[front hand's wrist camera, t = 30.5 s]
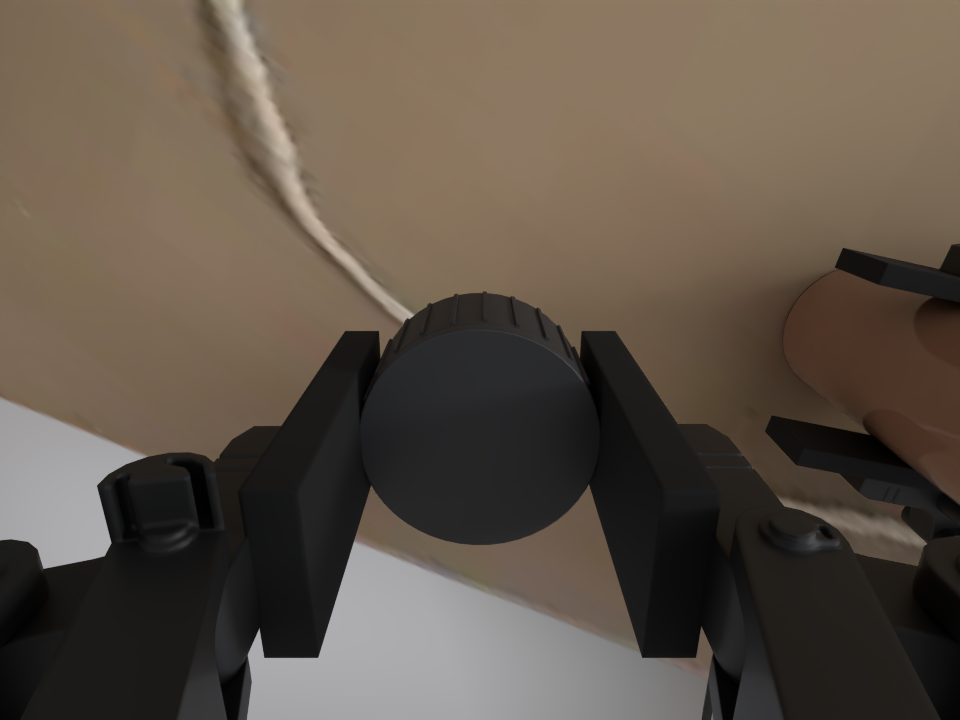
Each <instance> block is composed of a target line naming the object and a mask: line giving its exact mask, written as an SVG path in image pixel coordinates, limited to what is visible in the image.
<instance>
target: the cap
mask: <svg viewBox="0 0 960 720" xmlns="http://www.w3.org/2000/svg"><path fill="white" fill-rule="evenodd" d="M589 384H590V381H589V379H588V377H587V374H586V372H585V370H584V367H583V365H582V363H581V360H580V358H579V356H578V353H577V351H576V349H575V347H571V345H570V343H569V342H568V340H567V338H566V337H565V335H564V333H563V331H562V328H561V327H560V325H558V326H557V325H556V324H554V323H553V322H552V321H551V320H550V319H549V318H548V317H547V316H546V315H544V314H543V313H541V310H540V309H539V308H537V309H536V308H534V307H532V306H530V305H528V304H526V303H524V302H522V301H519V300H516V299H515V297H513V296H511V297H506V296H502V295H498V294H488V293H487V292H483V293H470V294H463V295H458V294H454V296H453V297H450V298H446V299H443V300H441V301H438V302H436V303H434V304H431V303H429V304H428V305H427V307H426V308H425V309H423V310H421V311H419V312H418V313H417V314H416V315H414V316H413V317H412V318H411V319H408V318H407V319H406V320H405V322H404V325H403V327H402V328H401V329H400V330H399V331H398V333H397V334H396V335H395V337H394V338H393V340H392V339H390V340H389V341H388V343H387V346H386V348H385V350H384V353H383V355H382V357H381V359H380V362H379V364H378V366H377V368H376V371H375V373H374V375H373V378H372V380H371V382H370V384H369V387H368V389H367V391H366V394H365V396H364V398H363V402H364V406H363V408H362V412H361V417H360V435H361V448H362V461H363V468H364V470H365V473H366V475H367V477H368V480H369V482H370V483H371V485H372V487H373V489H374V490H375V492H376V493H377V495H378V496H379V497H380V499H381V500H382V501H383V502H384V504H385V505H386V506H387V507H388V508H389V509H390V510H391V511H392V512H393V513H394V514H395V515H397V516H398V517H399V518H401V519H402V520H403V521H404V522H406V523H407V524H409V525H411V526H412V527H414V528H416V529H417V530H419V531H421V532H424V533H426V534H428V535H430V536H433V537H436V538H439V539H442V540H445V541H450V542H455V543H460V544H470V545H491V544H499V543H506V542H510V541H514V540H518V539H521V538H524V537H527V536H529V535H532V534H534V533H536V532H538V531H540V530H542V529H544V528H546V527H548V526H549V525H551V524H552V523H554V522H555V521H557V520H558V519H559V518H560V517H562V516H563V515H564V514H565V513H566V512H568V511H569V510H570V509H571V507H572V506H573V505H574V504H575V503H576V502H577V501H578V500H579V498H580V497H581V495H582V494H583V493H584V491H585V490H586V488H587V486H588V484H589V482H590V481H591V479H592V477H593V474H594V471H595V469H596V466H597V463H598V455H599V442H600V419H599V415H598V411H597V407H596V404H595V402H594V399H593V397H592V394H591V392H590V390H589V387H588V385H589Z"/></svg>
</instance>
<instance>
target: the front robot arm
mask: <svg viewBox="0 0 960 720" xmlns="http://www.w3.org/2000/svg"><path fill="white" fill-rule="evenodd" d="M580 360H581V363H582V365H583V367H584V370H585V372H586V374H587V377H588V379H589V381H590V384H589V385H588V387H589V390H590V392H591V394H592V397H593V399H594V402H595V404H596V407H597V411H598V415H599V419H600V442H599V455H598V463H597V466H596V469H595V471H594V474H593V477H592V479H591V481H590V482H589V486H590V489H591V492H592V495H593V499H594V502H595V505H596V508H597V512H598V515H599V518H600V521H601V525H602V528H603V531H604V534H605V538H606V541H607V544H608V548H609V551H610V554H611V557H612V561H613V564H614V567H615V570H616V574H617V577H618V580H619V583H620V587H621V590H622V593H623V596H624V600H625V603H626V606H627V609H628V613H629V616H630V619H631V622H632V626H633V629H634V632H635V635H636V639H637V642H638V645H639V648H640V652H641V655H642V658H696V655H697V648H698V642H699V636H700V630H701V626H702V628H703V630H704V633H705V635H706V637H707V639H708V641H709V644H710V646H711V648H712V650H713V655H712V661H711V667H710V672H709V678H708V684H707V690H706V695H705V701H704V707H703V714H702V720H711V716H712V712H713V719H714V720H960V538H959V537H944V538H938V539H933V540H932V541H930V542H929V543H928V544H927V545H925V546H924V548H923V552H922V555H921V558H920V561H919V565H918V566H914V565H908V564H903V563H898V562H893V561H888V560H883V559H878V558H873V557H868V556H864V555H860V554H856V553H854V552H853V550H852V548H851V546H850V544H849V542H848V541H847V540H846V539H845V538H844V536H843V535H842V534H841V533H840V532H839V530H838V529H836V528H835V527H833V526H832V525H830V524H829V523H827V522H826V521H824V520H823V519H821V518H819V517H816V516H814V515H811V514H809V513H806V512H804V511H801V510H797V509H793V508H788V507H784V506H783V504H782V503H781V502H780V501H779V499H778V498H777V497H776V496H775V494H774V493H773V492H772V491H771V489H770V488H769V487H768V486H767V484H766V483H765V482H764V481H763V480H762V478H761V477H760V476H759V475H758V473H757V472H756V471H755V470H752V466H751V465H750V463H749V462H748V461H747V460H746V458H745V457H744V456H741V452H740V451H739V450H738V449H737V447H736V446H735V445H734V444H733V442H732V441H731V440H730V439H729V438H728V437H727V436H725V435H724V434H722V433H720V432H719V431H717V430H715V429H714V428H712V427H710V426H709V425H707V424H677V422H676V421H675V419H674V418H673V416H672V415H671V414H670V412H669V411H668V409H667V408H666V406H665V405H664V403H663V402H662V400H661V399H660V397H659V396H658V394H657V393H656V391H655V390H654V388H653V387H652V385H651V384H650V382H649V381H648V379H647V378H646V376H645V375H644V373H643V372H642V370H641V369H640V367H639V366H638V364H637V363H636V361H635V360H634V358H633V357H632V355H631V354H630V352H629V351H628V350H627V348H626V347H625V345H624V344H623V342H622V341H621V339H620V338H619V336H618V335H617V333H616V332H615V331H582V334H581V350H580ZM379 362H380V343H379V331H345V332H344V334H343V335H342V337H341V338H340V340H339V341H338V343H337V344H336V346H335V347H334V349H333V350H332V352H331V353H330V355H329V356H328V358H327V359H326V361H325V362H324V364H323V365H322V367H321V368H320V370H319V371H318V373H317V374H316V375H315V377H314V378H313V380H312V381H311V383H310V384H309V386H308V387H307V389H306V390H305V392H304V393H303V395H302V396H301V398H300V399H299V401H298V402H297V404H296V405H295V407H294V408H293V410H292V411H291V413H290V414H289V416H288V417H287V419H286V420H285V422H284V423H283V425H282V426H254V427H252V428H251V429H249V430H247V431H246V432H244V433H242V434H241V435H239V436H237V437H236V438H234V439H232V441H231V442H230V443H229V444H228V446H227V447H226V448H225V449H224V451H223V452H222V453H221V454H220V458H217V459H216V461H215V462H212V461H211V460H210V459H209V458H207V457H206V456H203V455H199V454H194V453H190V452H189V453H166V454H161V455H155V456H150V457H146V458H143V459H140V460H137V461H135V462H132V463H129V464H126V465H124V466H122V467H121V468H119V469H117V470H115V471H114V472H112V473H110V474H108V475H107V476H106V477H105V478H104V479H103V480H102V481H101V482H100V483H99V484H98V485H97V487H98V491H99V495H100V499H101V503H102V507H103V511H104V515H105V519H106V523H107V527H108V531H109V535H110V539H111V545H110V547H109V549H108V551H107V553H106V555H105V556H104V557H100V558H96V559H92V560H87V561H82V562H77V563H72V564H67V565H62V566H56V567H51V568H46V569H43V566H42V563H41V560H40V556H39V553H38V550H37V549H36V548H35V547H34V546H32V545H31V544H30V543H29V542H25V541H18V540H1V541H0V720H247V713H248V706H249V698H250V691H251V683H252V681H251V673H250V667H249V661H248V652H249V650H250V648H251V646H252V643H253V641H254V639H255V637H256V634H257V632H258V630H259V628H260V633H261V639H262V645H263V652H264V657H265V658H318V656H319V653H320V650H321V646H322V643H323V640H324V637H325V633H326V630H327V627H328V624H329V621H330V617H331V614H332V611H333V608H334V604H335V601H336V598H337V595H338V591H339V588H340V585H341V581H342V578H343V575H344V572H345V568H346V565H347V562H348V559H349V555H350V552H351V549H352V546H353V542H354V539H355V536H356V533H357V529H358V526H359V523H360V520H361V516H362V513H363V510H364V507H365V503H366V500H367V497H368V494H369V490H370V487H371V483H370V482H369V480H368V477H367V475H366V473H365V470H364V468H363V461H362V448H361V435H360V417H361V412H362V408H363V406H364V402H363V398H364V396H365V394H366V391H367V389H368V387H369V384H370V382H371V380H372V378H373V375H374V373H375V371H376V368H377V366H378V364H379Z"/></svg>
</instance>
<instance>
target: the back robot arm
mask: <svg viewBox="0 0 960 720" xmlns="http://www.w3.org/2000/svg"><path fill="white" fill-rule="evenodd" d="M835 268H837V269H840V270H842V271H845V272H847V273H850V274H852V275H855V276H857V277H860V278H862V279H865V280H867V281H870V282H872V283H875V284H877V285H881V286H886V287H890V288H895V289H899V290H904V291H909V292H913V293H918V294H922V295H927V296H931V297H936V298H941V299H945V300H950V301H954V302H959V303H960V244H954V245H952V246H951V248H950V250H949V252H948V254H947V256H946V258H945V260H944V262H943V264H942V266H941V268H940V269H935V268H931V267H926V266H922V265H917V264H913V263H908V262H904V261H899V260H895V259H890V258H886V257H881V256H877V255H872V254H868V253H863V252H859V251H854V250H850V249H845V248H843V249H842V252H841V254H840V256H839V259H838V261H837V263H836V266H835ZM765 432H766V433H767V434H768V435H769V436H770V437H771V438H772V439H773V441H774V442H775V443H776V444H777V445H778V446H779V447H780V448H781V449H782V450H783V451H784V452H785V453H786V455H787V456H788V457H789V458H790V459H791V460H792V461H793V462H794V463H795V464H796V465H799V466H804V467H809V468H814V469H819V470H825V471H830V472H835V473H840V474H841V475H842V476H843V477H844V478H845V479H846V480H847V481H848V482H849V483H850V484H851V485H852V486H853V487H854V488H855V489H856V490H857V491H858V492H859V493H861V494H862V495H864V496H865V497H867V498H868V499H872V500H877V501H883V502H888V503H893V504H899V505H904V506H906V507H905V508H904V509H903V511H902V514H901V517H902V520H903V521H904V522H905V523H906V524H907V525H908V526H910V528H911V529H913V530H914V531H915V532H916V533H917V534H918V535H919V536H920V537H921V538H922V539H923V540H924V541H925V542H926V543H929V542H930V541H932V540H933V539H938V538H944V537H959V538H960V506H959V505H958V504H957V503H956V502H954V501H953V500H952V499H950V498H949V497H948V496H947V495H945V494H944V493H943V492H942V491H940V490H939V489H938V488H937V487H935V486H934V485H933V484H932V483H930V482H929V481H928V480H927V479H925V478H924V477H923V476H922V475H920V474H919V473H918V472H917V471H915V470H914V469H913V468H912V467H910V466H909V465H908V464H907V463H905V462H904V461H903V460H902V459H900V458H899V457H898V456H896V455H895V454H894V453H893V452H891V451H890V450H889V449H888V448H886V447H885V446H884V445H883V444H881V443H880V442H879V441H878V440H876V439H875V438H874V437H873V436H871V435H867V434H862V433H857V432H852V431H847V430H842V429H837V428H832V427H827V426H822V425H817V424H811V423H806V422H801V421H796V420H791V419H786V418H781V417H776V416H771V419H770V421H769V423H768V426H767V428H766V430H765Z"/></svg>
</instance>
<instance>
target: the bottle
mask: <svg viewBox="0 0 960 720" xmlns="http://www.w3.org/2000/svg"><path fill="white" fill-rule="evenodd" d="M783 348H784V354H785V357H786V360H787V362H788V364H789V366H790V368H791V369H792V371H793V372H794V373H795V374H796V375H797V376H798V377H799V378H800V379H801V380H802V381H804V382H805V383H806V384H807V385H809V386H810V387H811V388H812V389H814V390H815V391H816V392H817V393H819V394H820V395H821V396H822V397H824V398H825V399H826V400H827V401H829V402H830V403H831V404H832V405H834V406H835V407H836V408H837V409H839V410H840V411H841V412H842V413H844V414H845V415H846V416H847V417H849V418H850V419H851V420H853V421H854V422H855V423H856V424H858V425H859V426H860V427H861V428H863V429H864V430H865V431H866V432H868V433H869V434H870V435H871V436H873V437H874V438H875V439H876V440H878V441H879V442H880V443H881V444H883V445H884V446H885V447H886V448H888V449H889V450H890V451H891V452H893V453H894V454H895V455H896V456H898V457H899V458H900V459H902V460H903V461H904V462H905V463H907V464H908V465H909V466H910V467H912V468H913V469H914V470H915V471H917V472H918V473H919V474H920V475H922V476H923V477H924V478H925V479H927V480H928V481H929V482H930V483H932V484H933V485H934V486H935V487H937V488H938V489H939V490H940V491H942V492H943V493H944V494H945V495H947V496H948V497H949V498H950V499H952V500H953V501H954V502H956V503H957V504H958V505H959V506H960V303H959V302H954V301H950V300H945V299H941V298H936V297H931V296H927V295H922V294H918V293H913V292H909V291H904V290H899V289H895V288H890V287H886V286H881V285H877V284H875V283H872V282H870V281H867V280H865V279H862V278H860V277H857V276H855V275H852V274H850V273H847V272H845V271H842V270H840V269H839V270H836V271H834V272H832V273H829V274H828V275H826V276H824V277H822V278H821V279H819V280H818V281H816V282H815V283H813V284H812V285H811V286H810V287H809V288H808V289H807V290H806V291H805V292H804V293H803V294H802V295H801V296H800V297H799V299H798V300H797V301H796V303H795V304H794V306H793V308H792V309H791V311H790V313H789V315H788V318H787V320H786V324H785V327H784V333H783Z"/></svg>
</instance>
